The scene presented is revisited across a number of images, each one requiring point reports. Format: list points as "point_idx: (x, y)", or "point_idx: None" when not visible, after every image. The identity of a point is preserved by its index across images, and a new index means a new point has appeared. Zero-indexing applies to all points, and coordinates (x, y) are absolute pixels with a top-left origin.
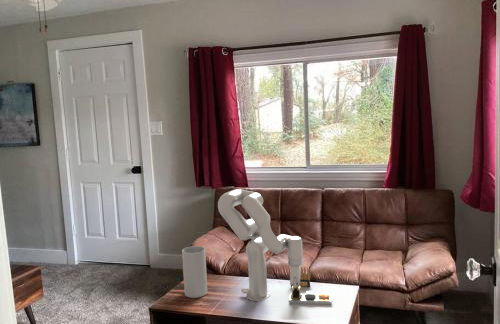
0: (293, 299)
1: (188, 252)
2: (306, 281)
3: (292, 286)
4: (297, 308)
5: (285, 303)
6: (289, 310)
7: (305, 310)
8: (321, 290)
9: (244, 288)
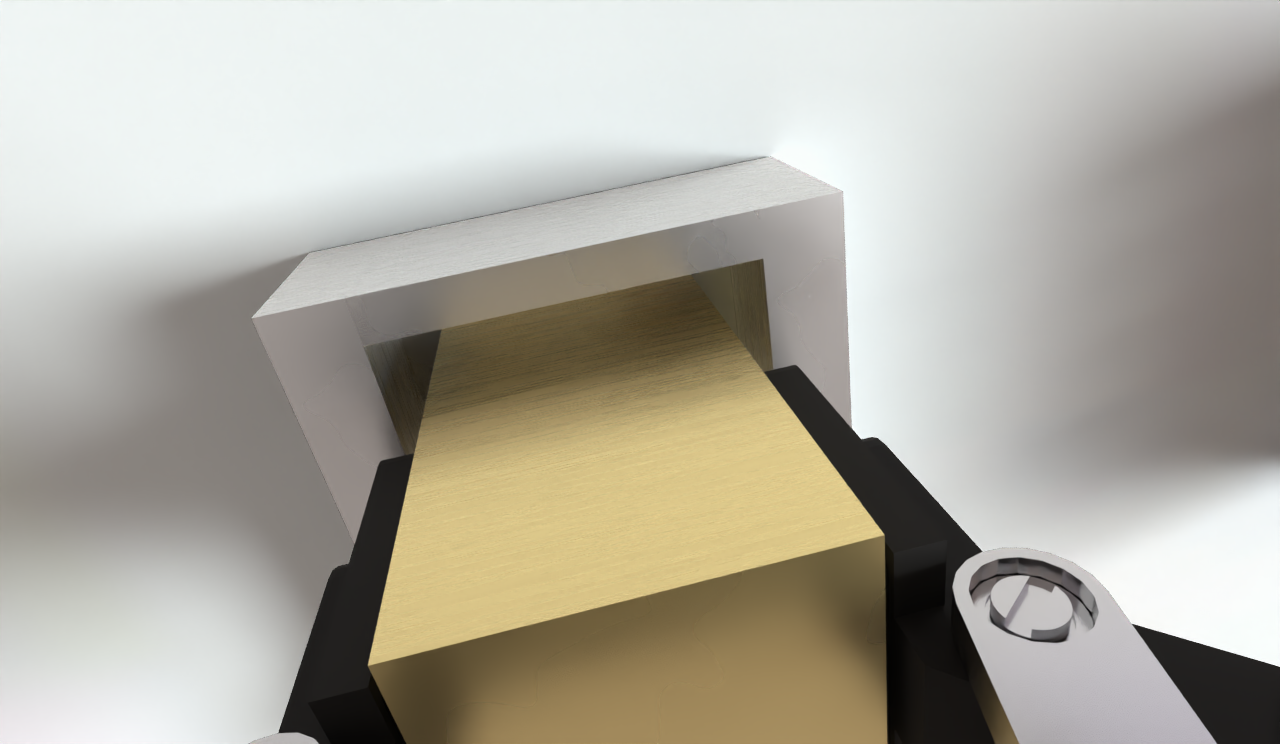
0: (380, 441)
1: None
2: None
3: (790, 578)
4: (255, 491)
5: (431, 88)
6: (9, 339)
7: (241, 661)
8: (1207, 642)
9: None
